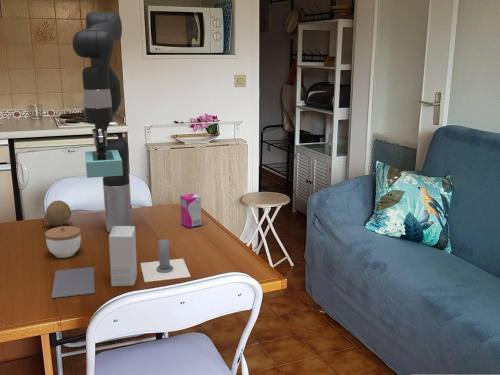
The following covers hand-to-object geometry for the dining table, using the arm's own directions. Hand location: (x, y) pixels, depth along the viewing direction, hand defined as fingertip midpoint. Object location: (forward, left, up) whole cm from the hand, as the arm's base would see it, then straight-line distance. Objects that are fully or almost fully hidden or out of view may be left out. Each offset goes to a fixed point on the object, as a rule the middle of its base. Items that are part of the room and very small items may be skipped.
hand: (102, 166), depth 152 cm
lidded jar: (-15, -13, -32) cm, 37 cm away
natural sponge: (-44, -16, -31) cm, 56 cm away
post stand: (+8, +16, -31) cm, 36 cm away
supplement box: (-32, +31, -32) cm, 54 cm away
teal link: (+7, 0, 0) cm, 7 cm away
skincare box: (+12, +4, -32) cm, 34 cm away
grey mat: (+8, -9, -31) cm, 34 cm away
